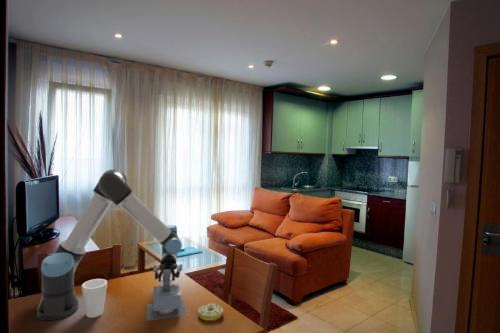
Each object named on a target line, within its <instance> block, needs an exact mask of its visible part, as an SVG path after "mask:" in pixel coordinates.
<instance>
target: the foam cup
mask: <svg viewBox="0 0 500 333" xmlns="http://www.w3.org/2000/svg"><path fill="white" fill-rule="evenodd" d="M107 288H108V281H107V279H103V278H95V279H94V278H93V279H90V280H87V281H85V282H83V283H82V284H81V292H82V296H83V304H84V309H85V310H84V311H85V315H86V317H87V318H93V319H94V318H98V317H99V316H102V314H103V313H104V308H105V302H106V301H105V299H106V294H107Z"/></svg>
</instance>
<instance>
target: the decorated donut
mask: <svg viewBox="0 0 500 333" xmlns="http://www.w3.org/2000/svg"><path fill="white" fill-rule="evenodd" d="M197 311H198V312H197V313H198V314H197V315H198V316H199V318H200V319H201V320H203V321H205V322H215V321H218V320H219V319H220V318H222V316H223V314H224V308H223V307H222V306H221V305H219V304H217V303H211V302H208V303H205V304H204V305H201V306H200V307H199V308H198V310H197Z"/></svg>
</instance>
